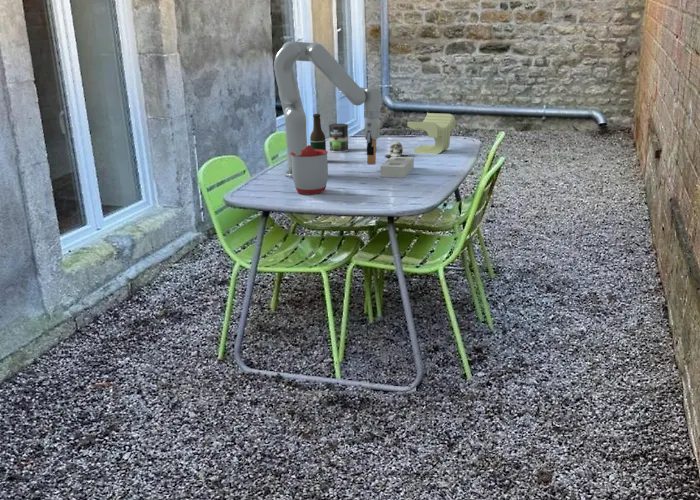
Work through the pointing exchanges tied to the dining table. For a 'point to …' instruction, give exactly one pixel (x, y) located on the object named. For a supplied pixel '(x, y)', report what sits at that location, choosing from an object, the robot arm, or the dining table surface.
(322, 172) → the citrus juicer
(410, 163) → the block
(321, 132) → the beer bottle
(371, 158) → the peg
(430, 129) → the slatted curved stool
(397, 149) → the skull
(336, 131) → the coffee can
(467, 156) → the dining table surface
